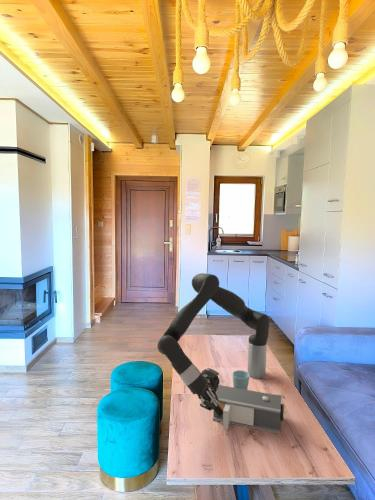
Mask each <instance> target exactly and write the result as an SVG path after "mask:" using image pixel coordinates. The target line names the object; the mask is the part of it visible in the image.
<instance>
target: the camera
mask: <svg viewBox="0 0 375 500" xmlns="http://www.w3.org/2000/svg"><path fill="white" fill-rule="evenodd" d="M201 373H202V374H203V376H204V377H205V378H206V379H207V385H208V386H209V387H212V386H213V387H214V389H215V391H217V389H218V386H219V385H220V378H219V375H220V373H219V372H218V371H217V370H215V369H213V368H210V367H207V368H205V369H203V370H202V371H201Z"/></svg>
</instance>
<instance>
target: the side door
mask: <svg viewBox="0 0 375 500" xmlns="http://www.w3.org/2000/svg"><path fill="white" fill-rule="evenodd" d="M230 421H233V422H238V423H242V424H247V425H252V426H253V424H254V408H249V407H244V406H239V405H234V404H228V403H226V404H225V407H224V410H223V422H222V428H223V429H227V430H228V429H229V426H230Z"/></svg>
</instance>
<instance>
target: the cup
mask: <svg viewBox="0 0 375 500" xmlns="http://www.w3.org/2000/svg"><path fill="white" fill-rule="evenodd" d="M249 380H250V375H249V373H248V371H245V370H240V369H239V370H235V371H233V372H232V382H233V383H232V385H233V388H239V389H245V390H249V389H248V388H249Z"/></svg>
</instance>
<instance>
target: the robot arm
mask: <svg viewBox="0 0 375 500" xmlns="http://www.w3.org/2000/svg"><path fill="white" fill-rule="evenodd" d="M191 286H192V288H193V290H194V291H195V292H196V293H197V294H196V295H195V297H194V298H193V299H192V300H191V301H190V302H188V303H187V304H185V306H183V307H182V308H181V309H179V311H178V312H177V314H175V317H174V318H173V320H171V322H170V325H169V327H168V328H167V329H166V331H165V332H164V333H163V334H162V336H161V337H160V339H159V340H158V343H157V350H158V352H159V353H160V354H161V355H165V357H166V358H167V359H168V361H169V362H170V364H171V366H172V368H173V369H174V371H175V372H176V373H177V375H178V376H179V377H180V379H181V381H182V382H183V383H184V384H185V386H186V387H187V389H188V390H189V391H190V392H191V394H193V395H197V397H198V398H199V400H200V401H201V402H200V403H199V405H200V407H201V408H203V409H206V410H207V411H210V412H211V411H213V412H214V411H215V412H216V413H217V415H218V416H219V417H221V416H222V415H223V410H222V408H221V407H220V406H219V405H218V397H217V394H216V390H215V389H214V387H213V386H212V387H209V386H208V385H207V379H206V378H205V377H204V376H203V374H202V371H200V369H199V368H198V367H197V366H196V364H194V363H193V362H192V361H191V359H190V358H189V356H188V355H186V353H185V352H184V350H183V348H182V347H181V345H180V344H179V341H180V339H181V338H182V336H184V335H185V333H186V332H187V330H188V329H189V327H190V326H191V324H192V322H193V320H194V319H195V318H196V316H197V315H198V314H199V313H200V311H201V310H202V309H203V308H204V307H205V306H206V305H207V303H208V302H209V301H210V300H211V302H213V303H215V304H216V305H217V306H219V307H220V308H222V309H223V310H224V311H226V312H227V313H229V314H230V315H232V316H234V317H236V318H238V319H239V320H240V321H242V322H243V323H244V324H245V325H246V326H247V327H249V328H250V329H252V330H255V333H254V334H251V335H249V337H248V345H247V347H248V348H247V349H248V350H247V351H248V353H247V354H248V355H247V373H249V375H250V376H249V378H250V377H251V378H254V379H264V378H265V377H266V374H267V372H266V371H267V342H268V339H269V332H270V331H269V330H270V318H269V316H268V315H267V314H266V313H262V312H260V311H257V310H254V309H251V308H250V307H248V306H247V305H246V303H245V301H244V300H243V298H242V297H240V296H239V295H238V294H236V293H234V292H232V291H231V290H228V289H227V288H224V287H220V280H219V277H218V276H217V275H215V274H212V273H202V272H201V273H197V274H195V275H194V276H193V277H192V279H191Z"/></svg>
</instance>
